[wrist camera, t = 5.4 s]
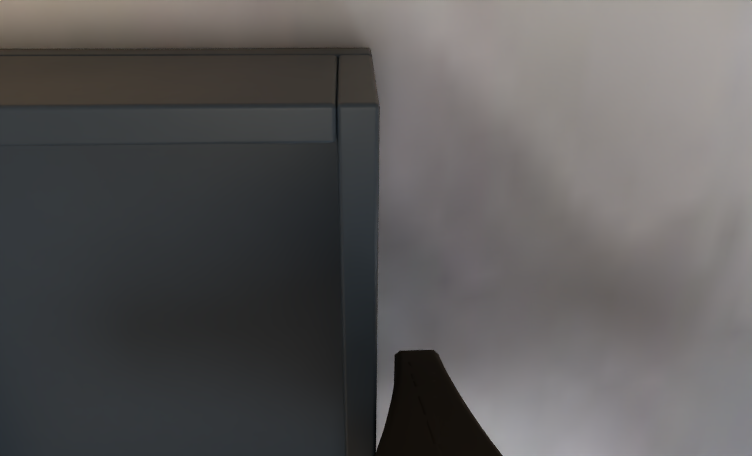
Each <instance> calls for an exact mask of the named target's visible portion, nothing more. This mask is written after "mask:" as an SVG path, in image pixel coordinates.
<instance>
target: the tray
mask: <svg viewBox="0 0 752 456" xmlns="http://www.w3.org/2000/svg"><path fill="white" fill-rule="evenodd" d="M379 117H380V107H379V100H378V94H377V87H376V81H375V74H374V68H373V62H372V54H371V50H370V49H369V48H228V49H0V456H375V454H376V396H377V303H378V210H379Z"/></svg>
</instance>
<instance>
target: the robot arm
mask: <svg viewBox="0 0 752 456" xmlns="http://www.w3.org/2000/svg"><path fill="white" fill-rule="evenodd" d="M375 456H503V455H502V454H501V453H500V452H499V450H498V449H497V448H496V446H495V445H494V444H493V442H492V441H491V440H490V439H489V437H488V436H487V434H486V433H485V432H484V430H483V429H482V428H481V426H480V425H479V423H478V422H477V420H476V419H475V417H474V416H473V414H472V413H471V411H470V410H469V408H468V407H467V405H466V404H465V402H464V401H463V399H462V397H461V396H460V394H459V392H458V391H457V389H456V387H455V386H454V384H453V382H452V381H451V379H450V377H449V375H448V373H447V371H446V369H445V368H444V366H443V363H442V361H441V359H440V357H439V355H438V354H437V353H436V352H435V351H434V350H411V351H399V352H398V353H397V354H395V366H394V388H393V394H392V399H391V403H390V407H389V412H388V416H387V420H386V423H385V427H384V430H383V433H382V436H381V439H380V442H379V445H378V448H377V451H376V454H375Z"/></svg>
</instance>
